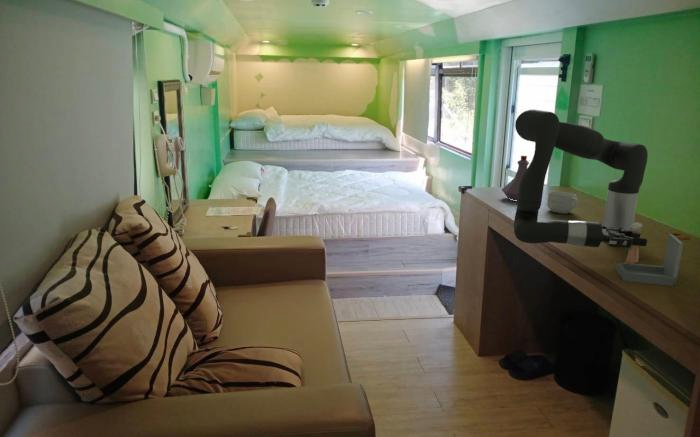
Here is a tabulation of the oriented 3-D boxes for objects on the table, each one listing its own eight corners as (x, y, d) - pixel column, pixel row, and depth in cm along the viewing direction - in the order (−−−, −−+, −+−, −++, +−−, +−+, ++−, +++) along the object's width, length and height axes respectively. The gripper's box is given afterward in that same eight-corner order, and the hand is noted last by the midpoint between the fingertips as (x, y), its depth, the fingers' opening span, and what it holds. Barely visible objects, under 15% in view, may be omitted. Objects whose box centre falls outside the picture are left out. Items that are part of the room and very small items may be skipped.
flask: (501, 194, 249) (505, 152, 244) (538, 197, 244) (543, 154, 238) (499, 202, 234) (503, 157, 228) (538, 205, 229) (543, 159, 223)
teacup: (541, 209, 223) (543, 190, 221) (564, 208, 225) (567, 190, 223) (559, 217, 210) (562, 198, 207) (584, 216, 211) (587, 197, 209)
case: (615, 270, 153) (622, 230, 150) (665, 274, 150) (672, 234, 147) (623, 280, 145) (629, 239, 141) (675, 286, 141) (683, 243, 138)
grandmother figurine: (638, 268, 154) (646, 226, 151) (624, 266, 155) (631, 224, 152) (636, 260, 161) (643, 220, 157) (622, 258, 162) (629, 218, 159)
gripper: (588, 228, 152) (652, 233, 148) (580, 215, 165) (638, 220, 161) (585, 252, 154) (647, 258, 150) (577, 238, 167) (634, 243, 163)
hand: (642, 238), depth 156 cm, fingers closed on grandmother figurine, 6 cm apart
